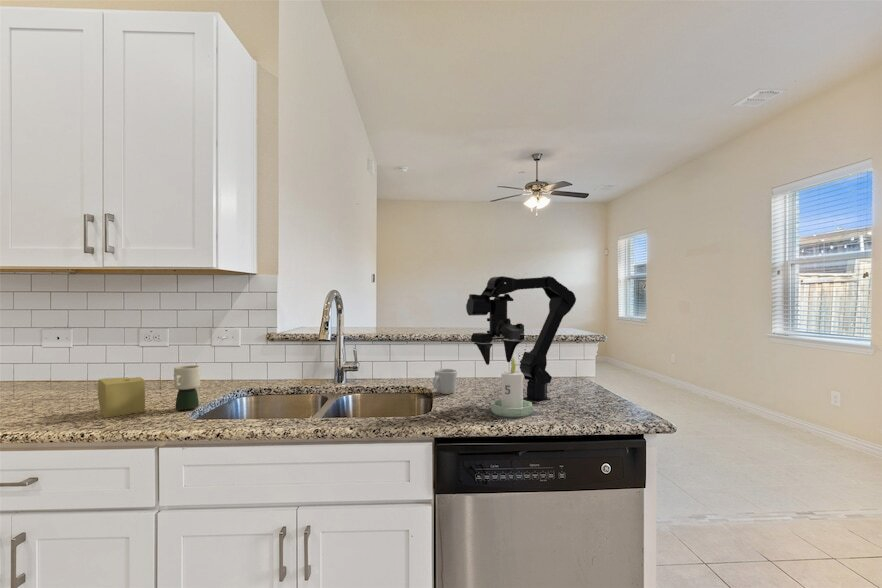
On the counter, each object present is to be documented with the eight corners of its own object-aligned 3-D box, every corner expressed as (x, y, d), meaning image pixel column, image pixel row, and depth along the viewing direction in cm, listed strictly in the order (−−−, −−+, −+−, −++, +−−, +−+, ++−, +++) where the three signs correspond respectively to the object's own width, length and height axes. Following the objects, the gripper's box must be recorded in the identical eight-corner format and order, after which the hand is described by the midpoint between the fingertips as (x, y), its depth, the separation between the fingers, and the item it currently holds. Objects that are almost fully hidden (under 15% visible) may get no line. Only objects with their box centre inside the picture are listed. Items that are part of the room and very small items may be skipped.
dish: (511, 404, 140) (511, 396, 140) (540, 413, 130) (540, 404, 130) (483, 410, 133) (482, 402, 133) (511, 419, 123) (511, 410, 123)
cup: (443, 398, 151) (443, 374, 151) (425, 394, 156) (425, 372, 156) (461, 392, 160) (461, 370, 160) (443, 389, 165) (443, 368, 165)
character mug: (187, 404, 142) (187, 364, 142) (208, 405, 141) (208, 364, 141) (163, 413, 131) (163, 369, 131) (186, 414, 130) (186, 370, 130)
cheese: (138, 406, 140) (138, 374, 140) (146, 412, 132) (146, 379, 132) (97, 412, 133) (97, 379, 133) (103, 419, 125) (103, 384, 125)
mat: (511, 405, 141) (511, 404, 141) (543, 414, 130) (543, 413, 130) (480, 411, 133) (480, 410, 133) (511, 421, 123) (511, 420, 123)
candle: (497, 409, 131) (497, 358, 131) (506, 404, 136) (506, 356, 136) (517, 412, 127) (517, 360, 127) (526, 407, 133) (526, 357, 133)
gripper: (494, 317, 132) (493, 369, 131) (536, 315, 142) (536, 363, 142) (470, 315, 141) (470, 364, 141) (512, 314, 151) (512, 359, 151)
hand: (498, 363), depth 143 cm, fingers open, 9 cm apart
